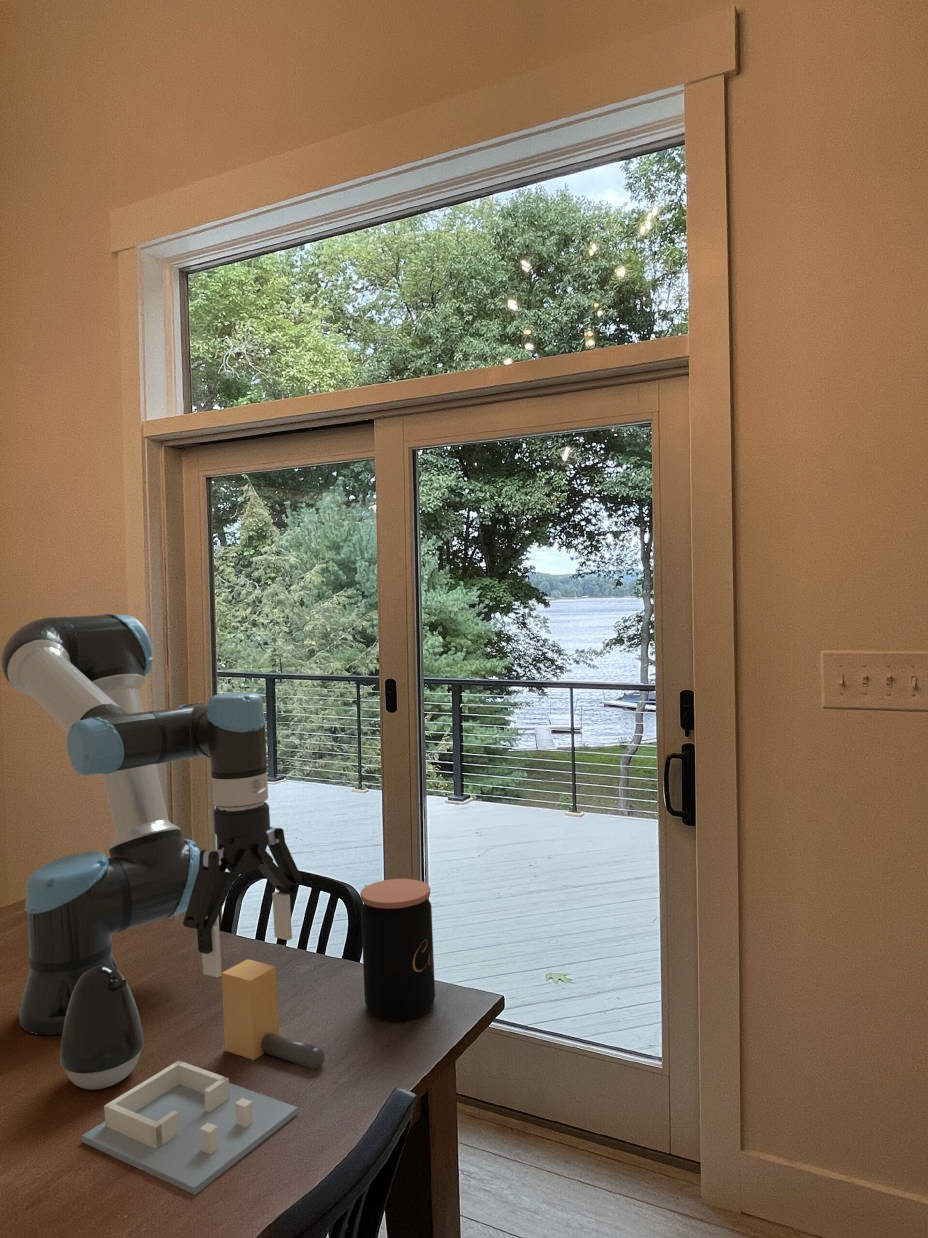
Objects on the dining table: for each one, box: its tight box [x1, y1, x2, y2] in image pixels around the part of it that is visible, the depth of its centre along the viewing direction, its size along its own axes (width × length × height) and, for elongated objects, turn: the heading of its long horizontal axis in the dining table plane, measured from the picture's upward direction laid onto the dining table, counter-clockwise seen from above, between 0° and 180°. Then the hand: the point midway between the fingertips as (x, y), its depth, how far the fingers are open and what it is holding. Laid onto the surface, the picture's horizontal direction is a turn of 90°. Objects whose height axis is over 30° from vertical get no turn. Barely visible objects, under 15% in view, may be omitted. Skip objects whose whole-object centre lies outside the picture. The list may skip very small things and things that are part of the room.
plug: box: [221, 959, 326, 1069], centre depth 118 cm, size 16×5×11 cm, turn 59°
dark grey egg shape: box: [59, 964, 145, 1090], centre depth 114 cm, size 10×10×15 cm
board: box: [81, 1060, 299, 1196], centre depth 103 cm, size 19×16×3 cm
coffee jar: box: [359, 878, 436, 1023], centre depth 131 cm, size 11×11×18 cm
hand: (249, 956), depth 120 cm, fingers open, 13 cm apart
